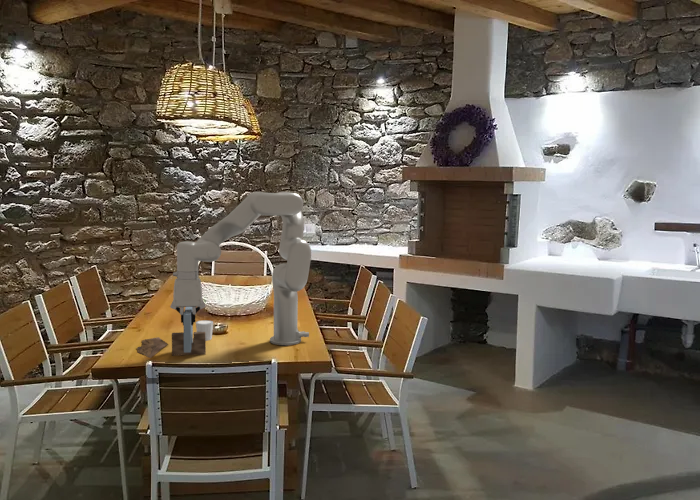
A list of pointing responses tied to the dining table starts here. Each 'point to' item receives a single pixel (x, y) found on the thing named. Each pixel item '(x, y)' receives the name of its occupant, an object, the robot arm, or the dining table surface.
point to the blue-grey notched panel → (188, 330)
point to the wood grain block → (197, 345)
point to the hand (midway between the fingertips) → (188, 324)
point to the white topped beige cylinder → (205, 328)
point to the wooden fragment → (151, 346)
